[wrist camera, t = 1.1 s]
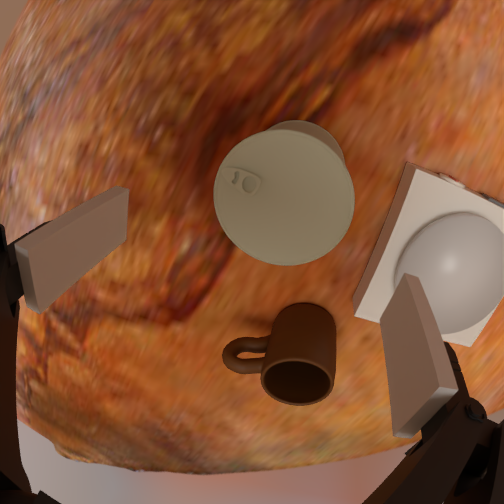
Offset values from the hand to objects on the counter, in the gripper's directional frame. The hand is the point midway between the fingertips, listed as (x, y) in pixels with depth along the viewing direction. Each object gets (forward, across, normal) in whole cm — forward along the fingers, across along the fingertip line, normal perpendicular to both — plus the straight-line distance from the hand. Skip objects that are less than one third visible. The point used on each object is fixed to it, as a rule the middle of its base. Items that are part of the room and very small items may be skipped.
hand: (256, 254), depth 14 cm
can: (+19, 0, 0) cm, 19 cm away
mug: (+19, +4, -18) cm, 26 cm away
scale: (+18, +18, -4) cm, 26 cm away
